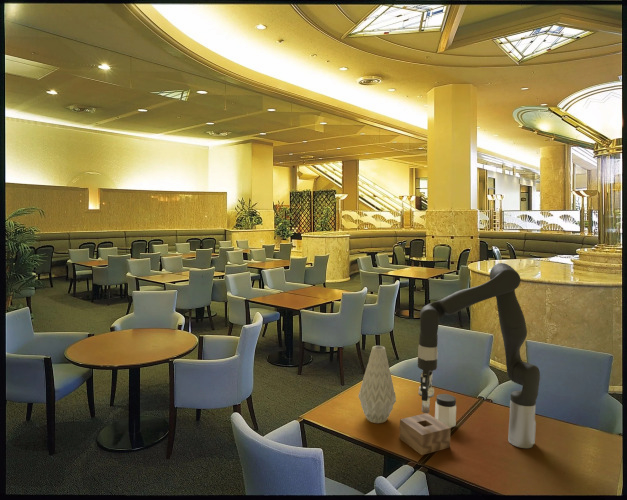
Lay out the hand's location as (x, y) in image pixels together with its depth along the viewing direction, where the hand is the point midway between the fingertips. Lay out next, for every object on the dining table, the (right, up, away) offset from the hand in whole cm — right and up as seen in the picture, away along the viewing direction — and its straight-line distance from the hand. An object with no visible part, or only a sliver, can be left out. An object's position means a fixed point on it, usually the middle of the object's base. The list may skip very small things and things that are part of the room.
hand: (426, 397), depth 176 cm
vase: (-17, -17, +22) cm, 32 cm away
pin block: (0, -19, +2) cm, 19 cm away
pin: (0, -6, 0) cm, 6 cm away
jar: (+13, -18, +18) cm, 28 cm away
